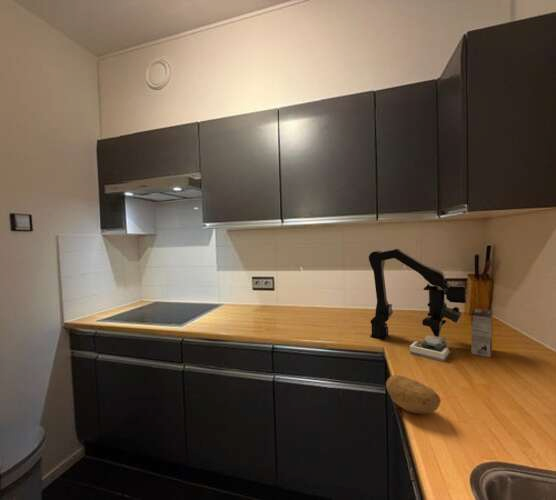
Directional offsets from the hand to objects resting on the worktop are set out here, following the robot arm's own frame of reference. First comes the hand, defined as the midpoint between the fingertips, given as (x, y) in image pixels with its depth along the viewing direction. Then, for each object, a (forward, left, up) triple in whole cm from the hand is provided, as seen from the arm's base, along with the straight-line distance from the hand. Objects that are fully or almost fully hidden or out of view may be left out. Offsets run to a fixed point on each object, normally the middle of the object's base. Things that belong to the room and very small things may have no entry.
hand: (437, 337), depth 122 cm
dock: (0, -9, -3) cm, 9 cm away
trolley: (0, -6, -3) cm, 6 cm away
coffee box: (+15, +4, -4) cm, 16 cm away
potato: (+7, -51, -4) cm, 52 cm away
